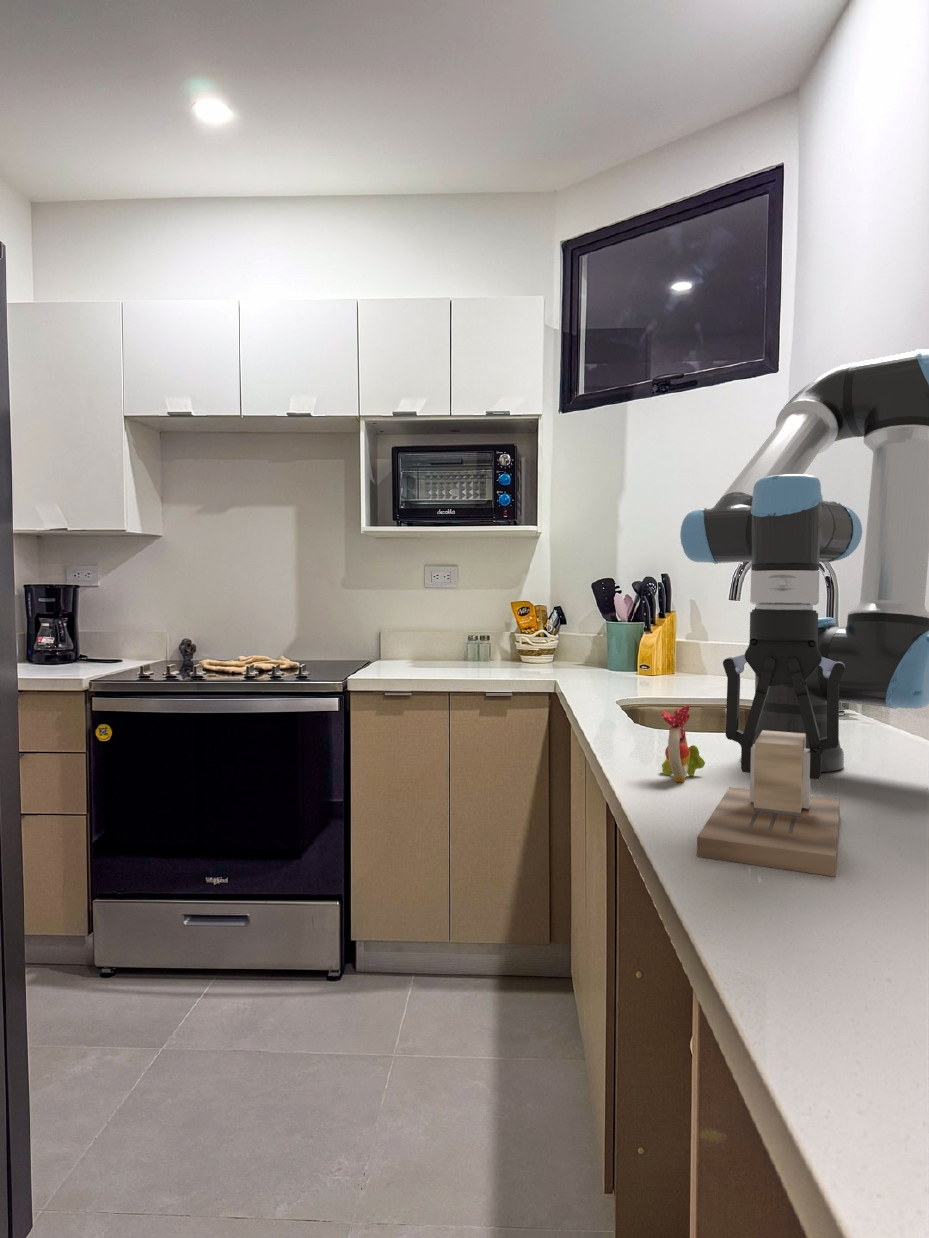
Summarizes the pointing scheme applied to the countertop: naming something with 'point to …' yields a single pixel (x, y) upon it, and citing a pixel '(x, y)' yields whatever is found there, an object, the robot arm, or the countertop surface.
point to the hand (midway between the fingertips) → (779, 802)
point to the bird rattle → (680, 748)
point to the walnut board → (773, 835)
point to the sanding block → (779, 772)
